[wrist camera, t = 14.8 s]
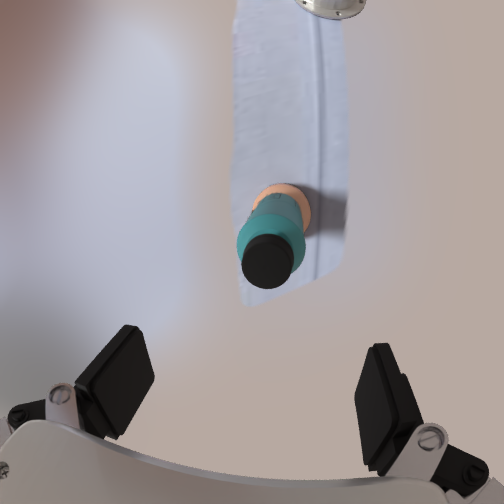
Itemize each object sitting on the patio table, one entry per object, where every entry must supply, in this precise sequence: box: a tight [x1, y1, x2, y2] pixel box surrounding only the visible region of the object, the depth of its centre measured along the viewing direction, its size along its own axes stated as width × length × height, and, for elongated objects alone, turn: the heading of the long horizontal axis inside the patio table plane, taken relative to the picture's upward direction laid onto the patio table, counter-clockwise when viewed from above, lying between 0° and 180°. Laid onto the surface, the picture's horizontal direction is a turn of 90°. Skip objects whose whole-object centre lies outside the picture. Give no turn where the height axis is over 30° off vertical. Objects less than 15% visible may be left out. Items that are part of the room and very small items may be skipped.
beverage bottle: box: [237, 192, 306, 289], centre depth 30 cm, size 6×7×20 cm
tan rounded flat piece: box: [252, 183, 311, 233], centre depth 41 cm, size 8×8×3 cm
